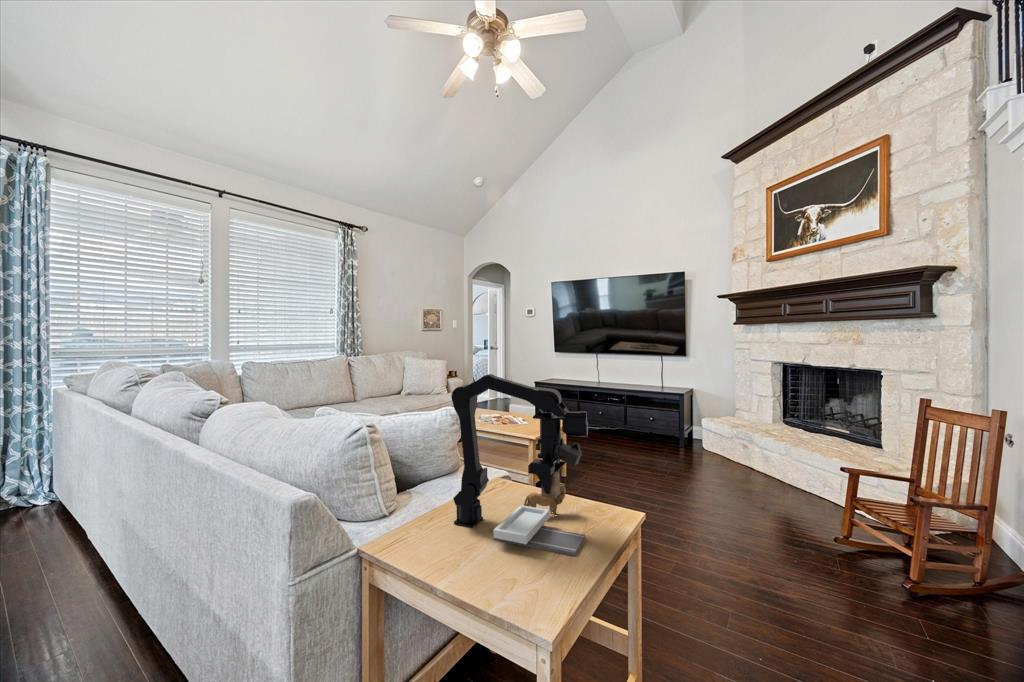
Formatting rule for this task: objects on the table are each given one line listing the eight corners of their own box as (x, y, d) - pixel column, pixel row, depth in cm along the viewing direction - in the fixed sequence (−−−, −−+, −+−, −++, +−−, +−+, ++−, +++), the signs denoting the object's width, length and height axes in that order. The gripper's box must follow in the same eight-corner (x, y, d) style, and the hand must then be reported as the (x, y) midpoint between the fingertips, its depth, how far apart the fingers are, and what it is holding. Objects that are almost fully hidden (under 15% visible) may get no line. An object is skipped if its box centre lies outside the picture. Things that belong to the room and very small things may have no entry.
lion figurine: (562, 508, 127) (562, 479, 127) (569, 515, 122) (568, 485, 122) (517, 514, 124) (516, 484, 124) (522, 521, 118) (521, 490, 118)
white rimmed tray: (493, 543, 104) (493, 529, 104) (520, 517, 119) (520, 505, 119) (526, 550, 100) (526, 536, 100) (549, 522, 116) (549, 509, 116)
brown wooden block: (541, 496, 112) (541, 474, 112) (546, 491, 116) (546, 470, 116) (555, 498, 111) (555, 476, 111) (559, 493, 114) (559, 472, 114)
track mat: (494, 539, 108) (493, 536, 108) (510, 524, 117) (510, 521, 117) (574, 556, 99) (574, 552, 99) (585, 538, 108) (585, 534, 108)
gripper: (568, 445, 102) (569, 508, 102) (587, 430, 119) (587, 484, 119) (527, 441, 106) (527, 501, 106) (550, 427, 123) (550, 479, 123)
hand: (550, 491), depth 113 cm, fingers closed on brown wooden block, 4 cm apart
